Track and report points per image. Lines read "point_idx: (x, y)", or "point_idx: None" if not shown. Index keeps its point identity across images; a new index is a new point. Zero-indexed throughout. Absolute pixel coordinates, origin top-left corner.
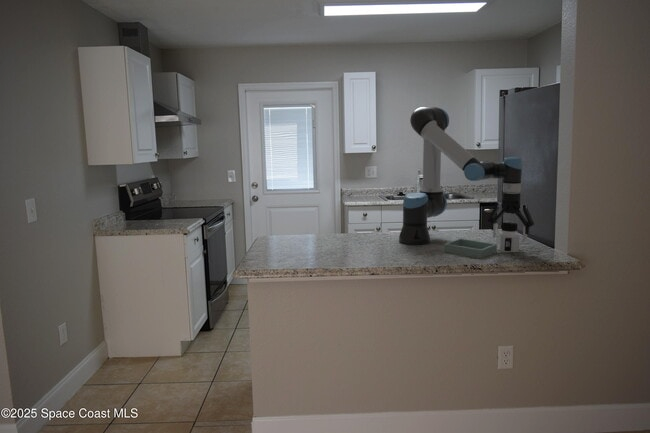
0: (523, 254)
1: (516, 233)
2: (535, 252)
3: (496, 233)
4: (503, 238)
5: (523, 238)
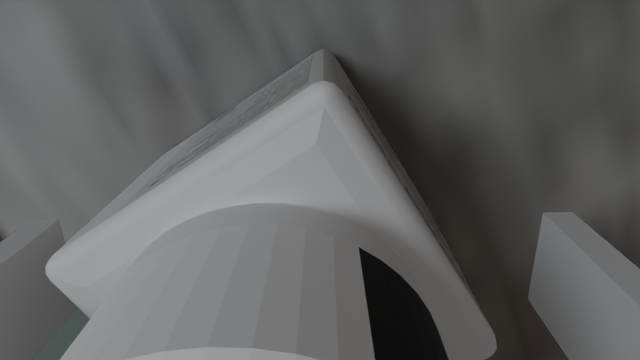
0: (491, 233)
1: (376, 199)
2: (591, 55)
3: (23, 283)
4: None
5: (564, 336)
